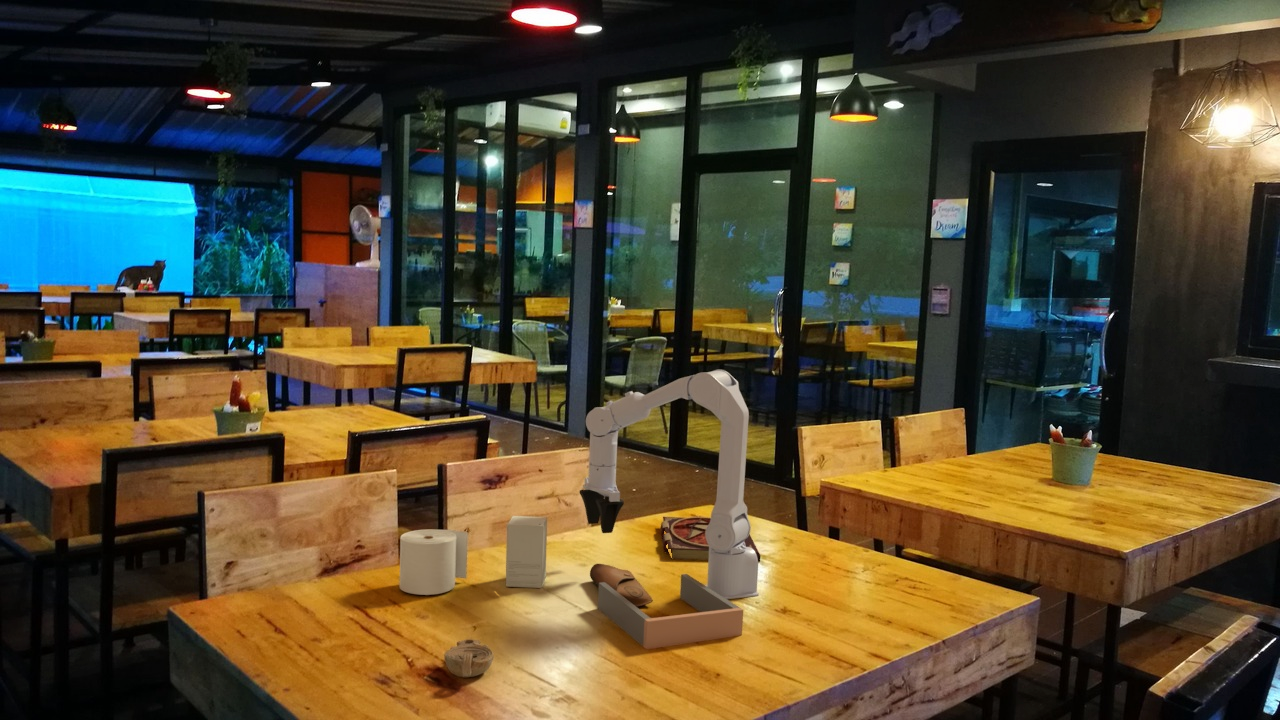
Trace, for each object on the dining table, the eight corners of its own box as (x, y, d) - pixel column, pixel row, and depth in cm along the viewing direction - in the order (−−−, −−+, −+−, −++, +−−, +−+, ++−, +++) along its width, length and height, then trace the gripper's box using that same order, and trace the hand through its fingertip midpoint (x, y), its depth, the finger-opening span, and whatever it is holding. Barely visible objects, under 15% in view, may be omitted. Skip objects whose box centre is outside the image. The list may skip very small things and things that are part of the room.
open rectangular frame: (685, 599, 187) (686, 573, 187) (741, 637, 168) (743, 609, 168) (597, 609, 180) (598, 582, 179) (646, 650, 161) (647, 621, 160)
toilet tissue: (387, 590, 185) (388, 538, 184) (424, 573, 196) (425, 524, 196) (434, 599, 181) (436, 546, 181) (469, 581, 192) (470, 532, 192)
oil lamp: (448, 655, 155) (449, 625, 155) (495, 656, 156) (496, 626, 156) (438, 690, 142) (439, 657, 142) (489, 691, 143) (490, 658, 142)
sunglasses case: (656, 600, 181) (635, 574, 179) (627, 625, 180) (606, 599, 178) (629, 570, 198) (610, 547, 197) (603, 593, 197) (583, 570, 195)
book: (759, 566, 213) (761, 544, 213) (664, 563, 213) (665, 540, 212) (743, 532, 241) (744, 513, 241) (659, 529, 241) (660, 509, 240)
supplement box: (546, 577, 197) (548, 516, 196) (541, 589, 190) (544, 525, 189) (510, 575, 197) (512, 514, 196) (504, 587, 190) (506, 524, 189)
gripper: (572, 458, 206) (569, 520, 208) (598, 471, 193) (595, 538, 194) (602, 456, 209) (600, 518, 211) (630, 470, 196) (627, 535, 197)
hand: (599, 527), depth 203 cm, fingers open, 7 cm apart
